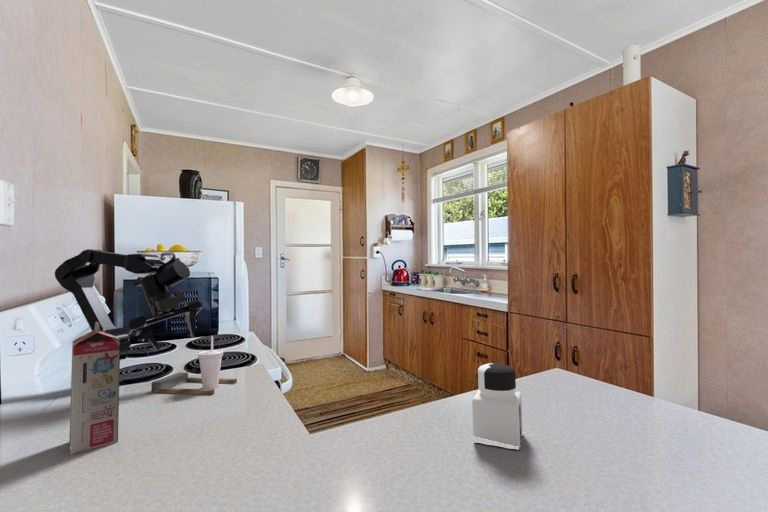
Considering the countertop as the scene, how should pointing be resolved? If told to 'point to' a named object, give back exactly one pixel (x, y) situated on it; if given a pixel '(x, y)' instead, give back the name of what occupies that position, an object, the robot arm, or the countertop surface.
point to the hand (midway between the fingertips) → (176, 343)
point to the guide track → (181, 377)
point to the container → (497, 405)
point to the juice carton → (94, 390)
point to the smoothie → (210, 367)
